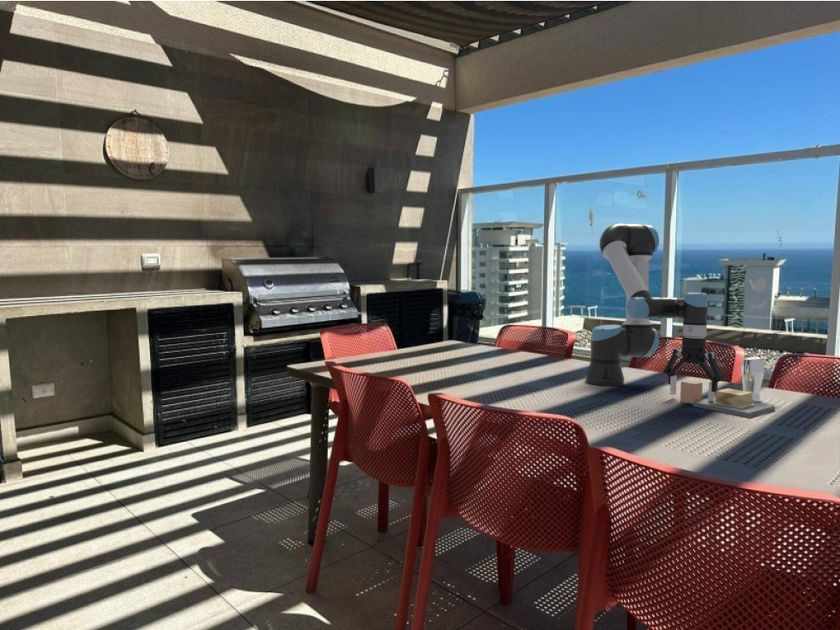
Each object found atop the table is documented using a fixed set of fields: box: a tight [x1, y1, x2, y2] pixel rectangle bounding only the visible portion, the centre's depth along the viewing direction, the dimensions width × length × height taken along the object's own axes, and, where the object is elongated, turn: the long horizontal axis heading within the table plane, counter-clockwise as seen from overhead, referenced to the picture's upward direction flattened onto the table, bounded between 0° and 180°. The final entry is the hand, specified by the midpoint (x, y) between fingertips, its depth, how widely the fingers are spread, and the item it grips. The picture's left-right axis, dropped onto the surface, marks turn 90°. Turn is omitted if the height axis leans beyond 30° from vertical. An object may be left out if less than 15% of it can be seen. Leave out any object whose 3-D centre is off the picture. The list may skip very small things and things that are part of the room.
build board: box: [692, 396, 776, 419], centre depth 189 cm, size 18×18×2 cm
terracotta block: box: [679, 379, 703, 405], centre depth 198 cm, size 5×5×7 cm
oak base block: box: [715, 388, 752, 407], centre depth 189 cm, size 8×8×4 cm
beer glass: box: [740, 356, 765, 403], centre depth 202 cm, size 7×7×15 cm
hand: (691, 397), depth 198 cm, fingers open, 13 cm apart
